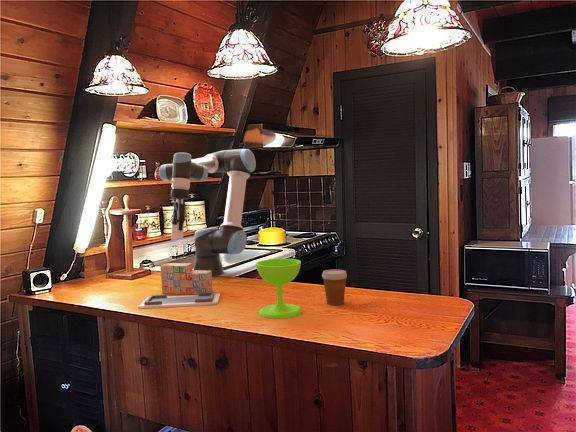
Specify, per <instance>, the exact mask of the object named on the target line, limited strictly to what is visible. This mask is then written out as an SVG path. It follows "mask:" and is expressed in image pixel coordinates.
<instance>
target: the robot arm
mask: <svg viewBox="0 0 576 432" xmlns="http://www.w3.org/2000/svg"><path fill="white" fill-rule="evenodd" d="M256 161H257V160H256V158H255V154H254V153H253V152H252V150H250V149H249V148H238V149H225V150H220V151H216V152H212V153H208V154H206V155H205V156H204V157H199V158H194V159H192V155H191V154H190V153H188V152H183V151H182V152H176V153H174V154H173V160H172V163H166V164H162V165H160V167H159V168H158V176H159V178H160V179H161V180H162V181H167V182H170V184H171V190H170V198H171V199H175V201H174V202H173V210H172V217H171V218H172V219H171V224H172V225H171V236H170V240H171V241H178V240H183V239H184V230H185V229H184V228H185V221H186V206H185V205H186V200H189V198H190V197H189V196H190V190H189V189H190V186H191V180H192V181H196V182H203V181H205V180H207V178H208V176H209V174H213V173H223V174H225V173H226V174H227V176H229V179H228V180H229V181H228V188H227V195H226V203H225V210H224V217H223V223H221V224H220V225H219V228H218V227H217V226H216V227H215V226H214V227H208V228H201V229H197V230H196V231H195V232H194V248H195V260H194V265H193V270H205V271H212V277H213V276H218V275H221V274H223V273H224V267H223V264H222V262H221V260H220V254H222V255H239V254H241V253H242V252H244V250H245V248H246V246H247V240H248V237H247V233H246V232H245V231H244V227H243V225H242V219H243V212H244V211H243V210H244V203H245V195H246V194H245V193H246V188H247V187H246V186H247V180H248V179H249V178H250V177H251V173H253V172H254V171H256V166H257V165H256V163H257V162H256Z"/></svg>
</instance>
